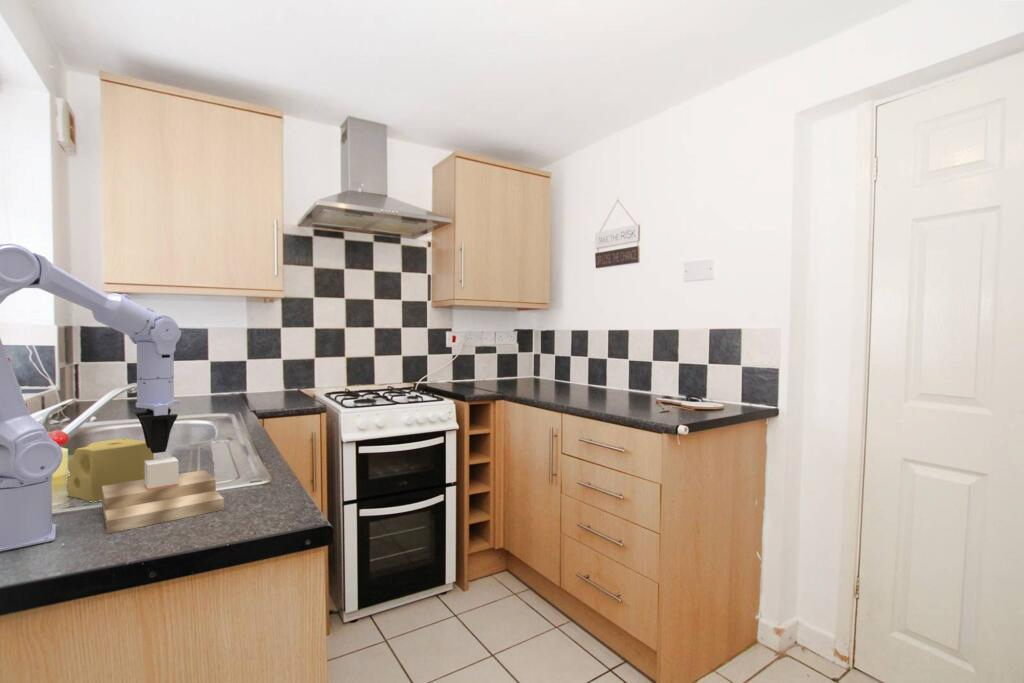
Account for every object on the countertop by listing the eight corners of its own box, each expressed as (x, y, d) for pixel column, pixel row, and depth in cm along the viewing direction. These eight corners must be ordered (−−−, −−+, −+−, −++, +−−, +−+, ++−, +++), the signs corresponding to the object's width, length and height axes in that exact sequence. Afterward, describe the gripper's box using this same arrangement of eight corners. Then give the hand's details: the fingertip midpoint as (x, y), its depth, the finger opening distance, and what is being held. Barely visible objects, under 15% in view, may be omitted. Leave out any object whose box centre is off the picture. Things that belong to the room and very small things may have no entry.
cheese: (66, 497, 96) (65, 445, 96) (129, 482, 106) (129, 436, 106) (91, 504, 91) (91, 450, 91) (156, 489, 101) (155, 440, 101)
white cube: (147, 490, 86) (147, 465, 86) (144, 485, 89) (144, 460, 89) (178, 485, 89) (178, 460, 89) (174, 480, 92) (174, 456, 92)
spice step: (107, 533, 77) (107, 508, 77) (102, 508, 89) (101, 485, 89) (223, 509, 87) (223, 487, 87) (204, 489, 100) (204, 469, 100)
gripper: (187, 379, 91) (187, 452, 91) (174, 375, 102) (175, 441, 102) (139, 381, 87) (140, 458, 87) (131, 377, 97) (132, 446, 97)
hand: (156, 449), depth 94 cm, fingers open, 6 cm apart
